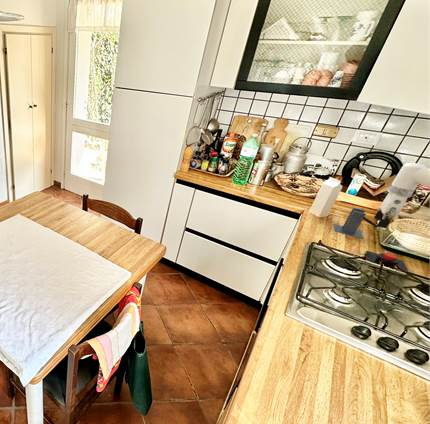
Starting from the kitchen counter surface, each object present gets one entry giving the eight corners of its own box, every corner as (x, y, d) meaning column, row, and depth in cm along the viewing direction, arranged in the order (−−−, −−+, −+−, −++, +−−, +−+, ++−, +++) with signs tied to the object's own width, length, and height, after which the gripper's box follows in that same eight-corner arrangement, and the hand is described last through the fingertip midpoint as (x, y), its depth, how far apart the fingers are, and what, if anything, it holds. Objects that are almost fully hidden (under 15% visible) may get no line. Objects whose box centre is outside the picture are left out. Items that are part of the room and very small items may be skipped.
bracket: (360, 232, 154) (373, 210, 148) (362, 240, 148) (376, 217, 141) (332, 225, 160) (344, 204, 154) (333, 232, 153) (345, 210, 147)
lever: (376, 227, 148) (381, 224, 146) (377, 232, 145) (383, 228, 143) (351, 211, 151) (356, 208, 150) (352, 215, 148) (357, 212, 146)
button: (393, 258, 130) (395, 254, 129) (394, 262, 127) (397, 258, 126) (381, 254, 132) (384, 251, 131) (383, 258, 129) (385, 255, 128)
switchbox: (400, 264, 132) (406, 257, 130) (405, 276, 125) (411, 269, 123) (363, 254, 138) (368, 247, 136) (366, 265, 131) (371, 257, 129)
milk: (317, 218, 166) (336, 181, 155) (307, 213, 171) (325, 177, 160) (327, 217, 167) (346, 180, 156) (316, 212, 172) (334, 176, 162)
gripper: (416, 199, 128) (393, 233, 137) (408, 186, 140) (387, 218, 149) (392, 194, 132) (371, 227, 141) (386, 182, 144) (367, 213, 153)
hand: (379, 222), depth 145 cm, fingers open, 9 cm apart
